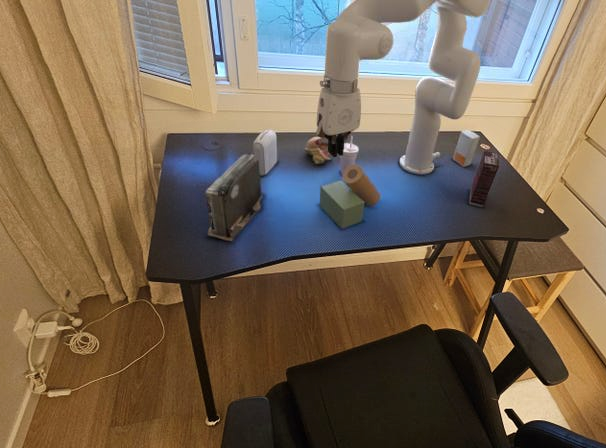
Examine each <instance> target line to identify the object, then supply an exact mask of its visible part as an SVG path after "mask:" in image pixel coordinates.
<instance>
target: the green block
mask: <svg viewBox="0 0 606 448" xmlns="http://www.w3.org/2000/svg"><path fill="white" fill-rule="evenodd" d="M319 190H320V192H319V206H320V208H321V209H322V210H323V211H324V212H325V213H326V214H327V215H328V216H329V217H330V218H331V219H332V220H333V221H334V223H336V225H338V227H339V228H340V229H342V230H343V229H345V228H348V227H351V226H353V225H356V224H359V223H361V222H363V217H364V208H365V205H364V203H365V202H364V201H363V200H362V199H360V198H359V197H358V196H357V195H356V194H355V193H354V192H353V191H352V190H351V189H350V187H349V186H348V185H347V184H346V183H345V182H344V181H342V180H341V179H340V180H338V181H334V182H331V183H328V184H324V185H321V186H320V189H319Z"/></svg>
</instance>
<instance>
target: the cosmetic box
mask: <svg viewBox="0 0 606 448" xmlns="http://www.w3.org/2000/svg"><path fill="white" fill-rule="evenodd" d="M480 139H481V136H480V135H478V134H477V133H475V131H474V132H473V131H472V130H470V129H465V130H461V132H460V134H459V138H458V141H457V144H456V147H455V150H454V154H453V156H452V160H453V161H455V163H458V164H459V165H460V166H462V167H463V168H464V167H467V166H470V165H471V164H472V161H473V159H474V155H475V153H476V150H477V147H478V144H479V141H480Z"/></svg>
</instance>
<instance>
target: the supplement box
mask: <svg viewBox="0 0 606 448" xmlns="http://www.w3.org/2000/svg"><path fill="white" fill-rule="evenodd" d="M499 162H500V161H499V153H498V152H497V153H496V152H493V151H490V150H489V151H488V150H484V151H483V153H482V156H481V159H480V161H479V164H478V168H477V170H476V173H475V175H474V178H473V181H472V183H471V184H472V185H471V186H470V189H469V202H468V203H469V205H472V206H475V207H480V208H483V207H484V205H485V202H486V200H487V198H488V195H489V193H490V190H491V188H492V185H493V183H494V180H495V177H496V175H497V173H498V171H499V168H500V163H499Z"/></svg>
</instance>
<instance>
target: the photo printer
mask: <svg viewBox="0 0 606 448" xmlns="http://www.w3.org/2000/svg"><path fill="white" fill-rule="evenodd" d="M277 145H278V144H277V134H276V131H274V129H265V130H263V131H262V132H261V133H260V134H258V135H257V137H256V138H255V139H254V141H253V144H252V153H253V154H252V155H254V156H255V157H257V159H258V161H259V171H260V176H266V175H267V174H269V172H270V171H271V170H272V169H273V168H274V167H275V165H276V164H277V162H278V147H277Z"/></svg>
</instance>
